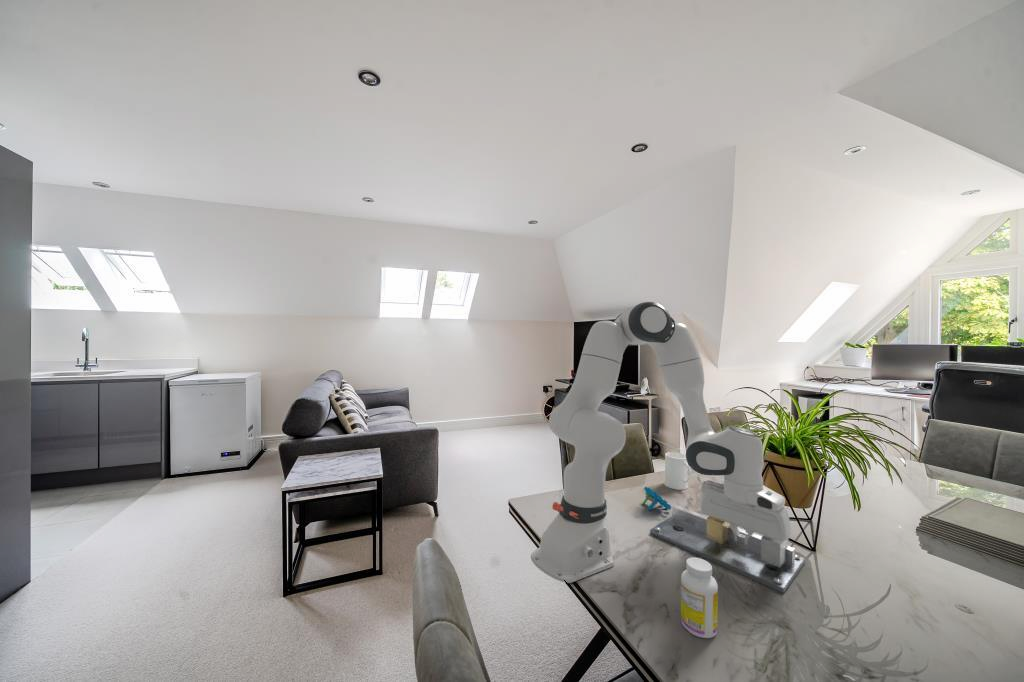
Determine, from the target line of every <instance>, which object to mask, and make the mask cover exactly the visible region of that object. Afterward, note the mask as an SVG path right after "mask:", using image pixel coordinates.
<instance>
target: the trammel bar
mask: <svg viewBox="0 0 1024 682" xmlns="http://www.w3.org/2000/svg"><path fill="white" fill-rule="evenodd" d="M671 516H672V520H675V521H677V522H680V523H682V524H685V525H687V526H690V527H692V528H695V529H697V530H700V531H702V532H705V533H707V518H708V517H709V516H708V515H705V514H701V513H699V512H696V511H693V510H691V509H687V508H685V507H682V506H679V505H677V504H673V505H672V506H671ZM737 528H738V530H739V532H740V534H743V535H745V536H747V534H748V533H746V529H744V528H741V527H737ZM726 541H728V542H730V543H733V544H735V545H738V546H740V547H743V548H745V549H748V550H750V551H753V552H755V553H758V554H760V555H761V560H763V561H765V562H768V563H770V567H771V568H773V569H775V566H778V567H781V566H782V564H786V565H788V566H791V567H793V565H794V563H795V554H796V551H795V549H796V548H795V547H792V546H789V545H788V544H789V539H788V540H786V541H784V542H781V541H778V540H775V539H773V538H770V537H767V536H764V535H759V534H758V533H755V532H754V533H753V534H752V535H751V537H750V538H749V545H748V546H747V545H744V544H742V543H739V542H737V541H735V535H734V533H733V531H732V529H731V527H730V526H729V527H728V539H727V540H726Z"/></svg>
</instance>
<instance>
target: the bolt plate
mask: <svg viewBox="0 0 1024 682" xmlns="http://www.w3.org/2000/svg"><path fill="white" fill-rule="evenodd" d="M649 534H650V535H652V536H654V537H656V538H659V539H662V540H663V541H665V542H668V543H670V544H672V545H675V546H677V547H679V548H682V549H683V550H686V551H688V552H690V553H692V554H695V555H697V556H699V557H702V559H706V560H709V561H710V562H712V563H715V564H717V565H719V566H722V567H724V568H726V569H728V570H730V571H733V572H734V573H737V574H739V575H742V576H744V577H745V578H749V579H751V580H753V581H754V582H758V583H760V584H761V585H764V586H766V587H768V588H770V589H773V590H775V591H777V592H779V593H782V594H785V592H786V590H787V589H788V588H789V586H790V585H791V584H792V583H793V581H794V579H795V578H796V577H797V575H798V573H799V572H800V570H801V569H802V568H803V566H804V565H805V561H806V560H805V558H804V557H802V556H800V555H799V554H797V553H795V563H794V565H793V567H791V566H788V565H786V564H782V566H781V567H778V566H775V569H773V568H771V567H770V563H768V562H765V561H763V560H761V555H760V554H758V553H755V552H753V551H750V550H748V549H745V548H743V547H740V546H738V545H735V544H733V543H730V542H728V541H725V542H724V543H723V544H721V543H719V545H717V544H715V541H713V540H711V539H709V538H707V533H705V532H702V531H700V530H697V529H695V528H692V527H690V526H687V525H685V524H682V523H680V522H677V521H675V520H672V515H671V516H669V517H667V518H666V519H665V520H663V521H662V522H660V523H658V524H657V525H655V526H653V527H652V528H650V529H649Z"/></svg>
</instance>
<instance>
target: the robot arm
mask: <svg viewBox="0 0 1024 682" xmlns="http://www.w3.org/2000/svg"><path fill="white" fill-rule="evenodd" d="M643 345H648V346H649V347H650V348H651V350H652V351H653V352H654V354H655V356H656V362H657V365H658V368H659V372H660V375H661V377H662V379H663V381H664V383H665V386H666V388H667V389H668V391H670V392H671V393H672V394H673V395H674V396H675V397H676V399H678V402H679V403H680V406H681V408H682V413H683V416H684V419H685V423H686V426H687V434H686V441H685V445H686V449H685V455H686V460H687V462H688V465H689V467H690V469H691V470H693V472H694V471H695V472H696V473H697V474H700V475H703V476H704V475H705V476H723V484H722V483H720V482H714V481H712V480H706V481H703V482H702V483H701V493H702V496H701V500H700V511H701V512H702V513H703V515H705V516H708V517H709V516H712V517H715V518H717V519H720V520H723V521H726V522H728V523H730V527H731V529H732V531H733V533H734V535H735V541H737V542H739V543H742V544H744V545H747V546H748V545H749V538H750V537H751V535H752V534H753V533H754V534H758V535H759V534H760V535H761V536H767V537H770V538H773V539H775V540H778V541H781V542H784V541H786V540H788V541H789V539H790V538H791V537H790V536H791V523H790V522H791V521H790V514H789V512H788V511H787V509H786V508H785V507H784V506H785V505H786V498H785V496H783V495H782V494H780V493H778V492H777V491H774V490H772V489H771V488H769V487H767V486H766V485H764V480H763V479H764V478H763V476H762V472H763V468H764V461H765V460H764V459H765V458H764V447H763V441H762V439H761V437H760V436H759V435H758V434H757V433H756V432H754V431H753V430H750V429H747V428H744V427H740V426H728V427H727V428H726V429H723V430H721V431H718V432H717V431H716V430H715V428H714V427H713V426H712V424H711V422H710V418H709V417H710V416H709V413H708V410H707V407H706V404H705V400H704V387H705V372H704V367H703V361H702V358H701V355H700V352H699V349H698V345H697V344H696V341H695V339H694V336H693V334H692V333H691V331H690V329H689V328H688V326H687V325H685V323H680V322H676V321H675V320H674V319H673V318H672V316H671V315H670V313H669V311H668V310H667V309H666V308H665V307H664V306H663V305H661V304H660V303H658V302H655V301H645V302H641V303H638V304H636V305H634V306H630V307H628V308H627V309H626V310H624V311H623V312H622V313H620V314H619V315H617V317H616V318H615V319H614V320H600V321H599V320H598V321H597V322H595V323H594V324H593V325H592V326H591V328H590V330H589V332H588V335H587V336H586V339H585V342H584V345H583V349H582V352H581V355H580V359H579V363H578V367H577V370H576V375H575V377H574V380H573V383H572V385H571V387H570V390H569V391H568V392H567V394H566V396H565V398H564V399H563V401H561V403H560V404H558V405H557V406H555V407H554V408H553V409H552V411H551V412H550V414H549V418H548V425H549V428H550V430H551V432H552V433H553V434H554V435H555V436H556V437H557V438H559V440H561V441H563V442H565V443H566V444H568V445H572V446H574V449H575V450H574V451H575V452H574V456H573V460H572V461H571V462H569V463H568V464H566V466H565V468H564V470H563V495H562V497H561V501H560V503H559V502H557V501H554V502H553V503H552V505H551V508H552V510H553V511H556V512H557V513H558V514H557V515H556V516H555V518H554V519H553V520H552V522H551V523H549V525H548V526H547V528H546V529H545V530H544V532H543V533H542V535H541V538H540V545H539V547H538V548H536V549H534V551H532V552H531V553H530V560H531V562H532V563H533V564H534V566H535V567H536V568H537V569H538V570H540V571H541V572H543V573H544V574H546V575H547V576H549V577H551V578H552V579H554V580H557V581H559V582H563V583H566V582H567V584H571V583H574V582H577V581H579V580H581V579H584V578H586V577H589V576H592V575H594V574H596V573H599V572H601V571H605V570H607V569H610V568H612V567H614V565H615V560H614V557H612V551H611V541H610V532H609V528H608V527H609V526H608V523H607V520H606V516H607V510H608V505H607V500H606V478H607V477H606V474H607V471H608V467H609V464H610V462H611V460H612V459H613V458H614V457H616V456H618V454H620V452H621V451H622V450H623V449H624V447H625V444H626V441H627V440H626V439H627V432H626V428H625V426H624V424H623V423H622V422H621V421H620V420H619V419H617V418H615V417H614V416H611V414H609V413H606V412H603V411H600V410H598V409H599V408H600V405H601V404H602V402H603V401H604V400H605V399H607V397H609V396H611V395H612V394H613V393H614V392H615V391H616V387H617V383H618V381H619V380H618V379H619V374H620V371H621V367H622V362H623V358H624V357H623V355H624V353H625V350H626V349H627V347H634V346H643ZM738 528H741V529H744V530H746V533H748V534H747V536H745V535H743V534H740V532H739V530H738ZM564 580H565V581H566V582H565V581H564Z"/></svg>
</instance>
